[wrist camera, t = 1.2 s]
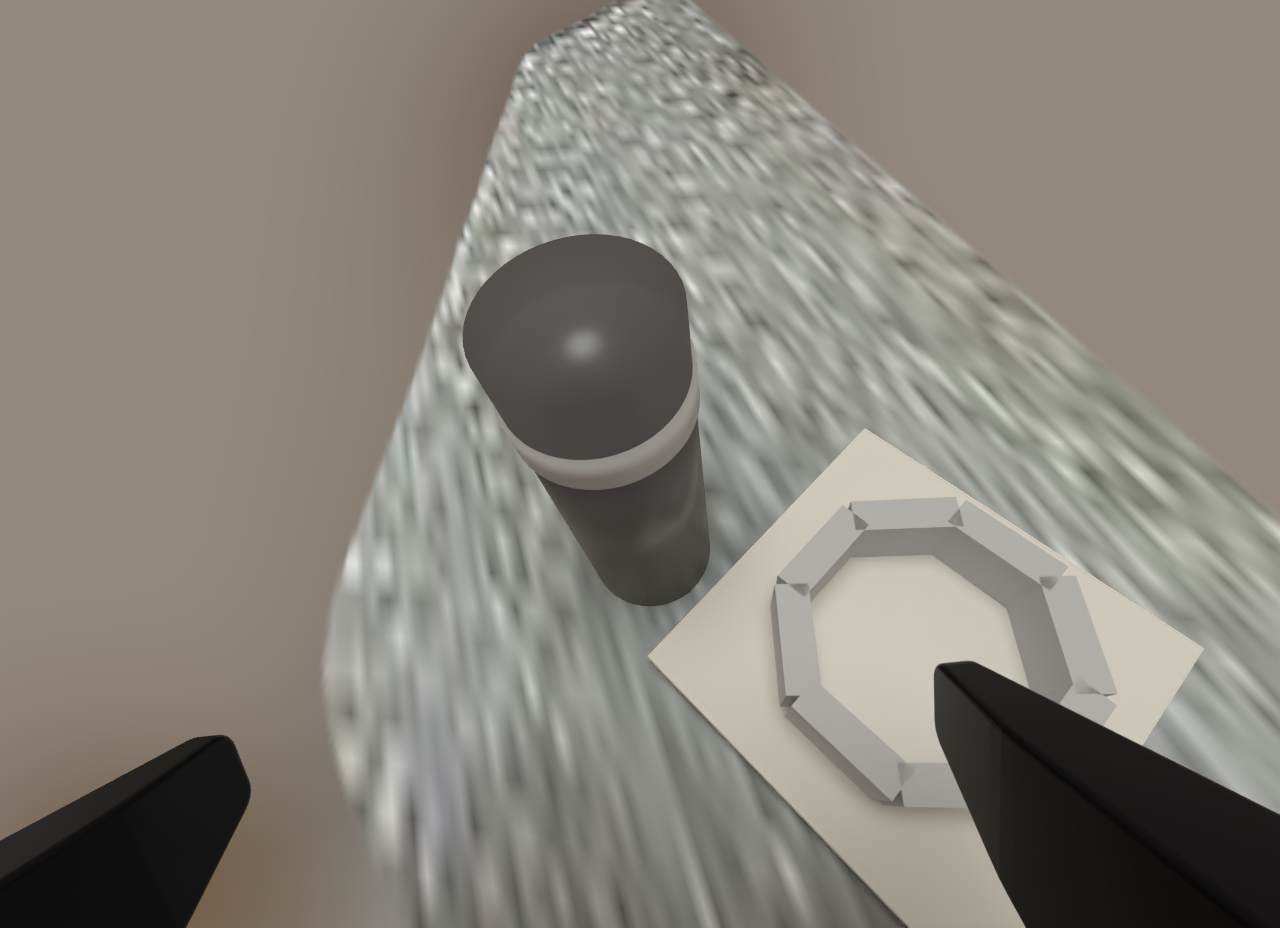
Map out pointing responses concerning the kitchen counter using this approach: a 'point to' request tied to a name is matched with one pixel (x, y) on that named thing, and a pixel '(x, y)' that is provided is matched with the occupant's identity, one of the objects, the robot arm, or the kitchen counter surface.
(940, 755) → the collar mount
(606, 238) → the dark grey capped cylinder
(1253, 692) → the kitchen counter surface
